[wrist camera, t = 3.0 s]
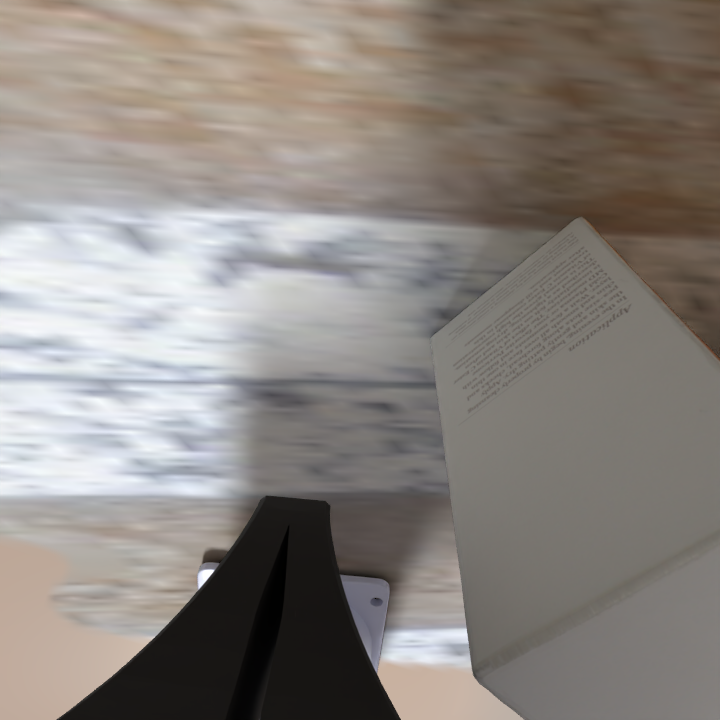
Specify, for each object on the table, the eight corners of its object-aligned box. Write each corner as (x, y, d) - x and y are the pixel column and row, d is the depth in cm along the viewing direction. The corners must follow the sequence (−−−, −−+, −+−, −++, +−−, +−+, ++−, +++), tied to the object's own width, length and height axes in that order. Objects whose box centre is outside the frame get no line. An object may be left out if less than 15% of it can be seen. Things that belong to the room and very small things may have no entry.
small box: (720, 375, 22) (1071, 762, 11) (567, 475, 25) (722, 884, 13) (580, 205, 20) (845, 475, 8) (423, 334, 22) (460, 687, 11)
